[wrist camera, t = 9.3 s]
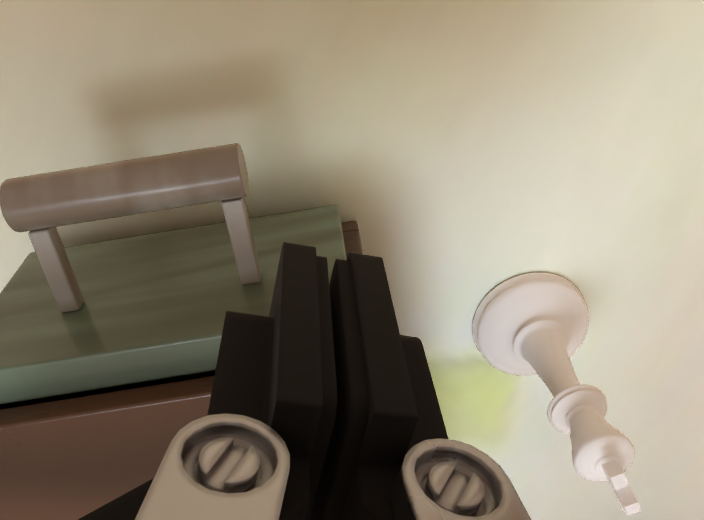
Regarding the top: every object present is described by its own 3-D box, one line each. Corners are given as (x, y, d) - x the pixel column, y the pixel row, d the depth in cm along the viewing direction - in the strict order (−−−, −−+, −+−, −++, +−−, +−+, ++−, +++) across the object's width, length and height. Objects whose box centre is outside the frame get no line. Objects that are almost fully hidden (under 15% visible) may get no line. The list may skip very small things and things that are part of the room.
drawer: (-18, 141, 22) (-144, 240, 16) (319, 88, 22) (331, 166, 16) (133, 498, 30) (91, 657, 24) (378, 459, 31) (401, 607, 24)
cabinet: (33, 270, 26) (-84, 439, 18) (356, 220, 26) (385, 365, 18) (139, 517, 32) (89, 720, 24) (393, 477, 32) (427, 666, 24)
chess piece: (493, 382, 30) (576, 582, 21) (455, 301, 28) (530, 487, 19) (597, 340, 29) (726, 528, 21) (567, 253, 27) (698, 423, 18)
